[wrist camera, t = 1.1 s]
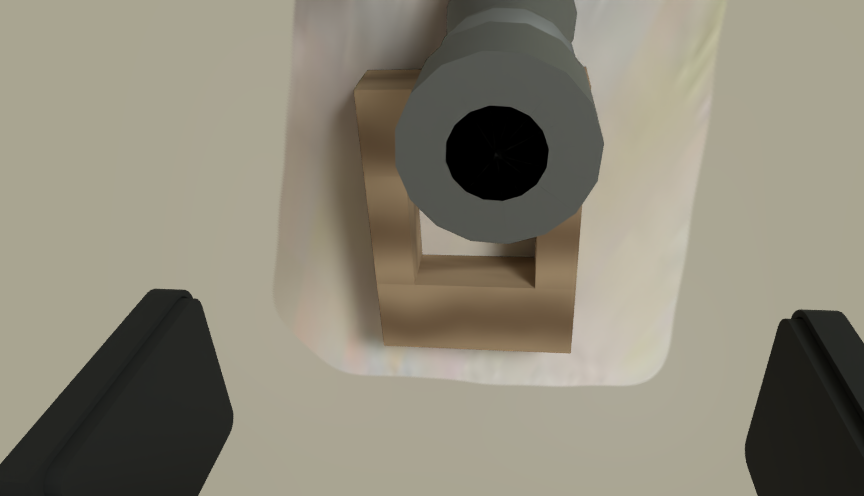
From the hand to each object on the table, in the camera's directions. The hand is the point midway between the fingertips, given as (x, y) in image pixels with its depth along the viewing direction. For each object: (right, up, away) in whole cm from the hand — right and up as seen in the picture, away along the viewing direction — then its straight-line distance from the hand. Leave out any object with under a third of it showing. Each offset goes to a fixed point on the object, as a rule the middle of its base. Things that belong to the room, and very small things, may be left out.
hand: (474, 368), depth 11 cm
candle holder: (+4, +18, +28) cm, 34 cm away
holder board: (+2, +5, +36) cm, 37 cm away
